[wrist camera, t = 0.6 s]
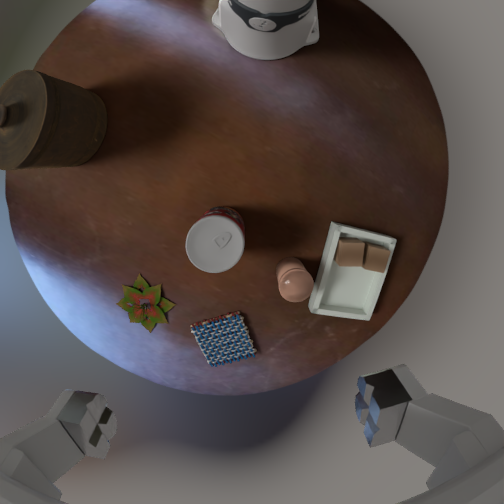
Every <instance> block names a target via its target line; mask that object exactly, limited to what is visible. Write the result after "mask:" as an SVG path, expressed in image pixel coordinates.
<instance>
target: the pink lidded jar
mask: <svg viewBox="0 0 504 504" xmlns="http://www.w3.org/2000/svg"><path fill="white" fill-rule="evenodd" d="M276 275H277V279H278V282H279V291H280V294H281V295H282V296H283V298H285V299H286V300H288V301H291V302H299V301H302V300H304V299H306V298H307V297H309V295H310V294H311V293H312V291H313V287H314V282H313V278H312V277H311V275H310V274H309V273H308V272H307V271H306V269H305V267H304V265H303V264H302V262H301V261H300V260H299V259H297V258H294V257H287V258H284V259H282V260H281V261H280V262H279V263H278V265H277V267H276Z"/></svg>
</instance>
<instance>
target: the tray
mask: <svg viewBox="0 0 504 504" xmlns="http://www.w3.org/2000/svg"><path fill="white" fill-rule="evenodd" d="M339 237H355V238H358V239H359V240H361V241H365V242H370V243H374V244H378V245H382V246H383V247H385V248H386V249H388V250H390V251H391V253H390V256H389V259H388V262H387V266H386V269H385V272H384V273H380V272H375V271H370V270H365V269H364V268H362V267H342V266H339V265H338V264H337V263H336V262H335V261H334V260H333V258H334V254H335V251H336V247H337V243H338V239H339ZM395 244H396V239H395V238H393V237H391V236H388V235H384V234H381V233H377V232H373V231H369V230H365V229H361V228H357V227H353V226H349V225H345V224H340V223H336V222H332V221H331V224H330V228H329V232H328V236H327V240H326V244H325V248H324V251H323V255H322V259H321V262H320V266H319V269H318V273H317V277H316V280H315V283H314V287H313V291H312V294H311V297H310V300H309V304H308V307H309V309H310V311H311V313H315V314H322V315H330V316H337V317H345V318H353V319H361V320H370V318H371V315H372V312H373V310H374V307H375V304H376V302H377V299H378V296H379V293H380V291H381V288H382V285H383V282H384V279H385V276H386V273H387V270H388V267H389V264H390V261H391V257H392V254H393V251H394V247H395Z"/></svg>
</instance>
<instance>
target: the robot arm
mask: <svg viewBox="0 0 504 504" xmlns="http://www.w3.org/2000/svg"><path fill="white" fill-rule="evenodd" d="M212 23H213V25H214V26H216V27H217V28H218V29H220V30H221V31H222V32H223V33H224V35H225V37H226V39H227V41H228V42H229V44H230V45H231V46H232V47H233V48H234V49H235V50H237V51H238V52H240V53H242V54H244V55H246V56H248V57H251V58H255V59H261V60H274V59H280V58H284V57H286V56H289V55H291V54H293V53H294V52H296V51H297V50H298V49H300V48H301V47H303V46H306V45H311V44H314V43H316V42H318V40H319V26H318V15H317V4H316V0H220V1H219V7H218V9H217V10H216V12H215V13H214V15H213V17H212ZM312 31H313V32H314V33H311V32H312ZM357 386H358V388H359V393H358V394H357V395H356V399H355V408H356V414H357V417H358V420H359V422H360V423H362V424H363V425H365V429H364V434H365V437H366V439H367V442H368V444H369V446H370V447H374V446H377V445H381V444H384V443H388V442H391V441H394V440H396V441H395V442H397V443H398V444H400V445H401V446H403V447H405V448H406V449H407V450H409V451H411V452H412V453H414V454H415V455H417V456H418V457H420V458H422V459H423V460H425V461H426V462H428V463H430V464H431V465H433V466H435V467H436V468H435V470H434V471H433V473H432V474H431V475H430V477H429V479H428V480H427V482H426V484H427V486H428V488H429V490H428V491H426V492H424V493H422V494H419V495H417V496H415V497H412V498H410V499H407V500H405V501H402V502H400V503H397V504H504V430H503V429H502V427H501V426H500V425H499V424H498V422H497V421H496V420H495V419H494V417H493V416H492V415H491V414H487V413H485V412H482V411H479V410H476V409H473V408H470V407H467V406H465V405H462V404H459V403H456V402H454V401H451V400H449V399H446V398H443V397H440V396H438V395H435V394H433V393H431V394H428V393H427V392H426V391H425V389H424V388H423V387H422V385H421V384H420V383H419V381H418V380H417V379H416V378H415V376H414V375H413V373H412V372H411V371H410V369H409V368H408V367H407V366H406V365H405V364H401V365H398V366H395V367H391V368H389V369H385V370H381V371H377V372H373V373H370V374H366V375H361V376H359V378H358V383H357ZM106 405H107V401H106V399H105V397H104V395H101V394H98V393H91V392H83V391H75V390H70V389H67V390H64V391H63V392H62V394H61V395H60V396H59V398H58V399H57V401H56V402H55V404H54V405H53V406H52V408H51V409H50V411H49V412H48V414H47V415H46V416H45V417H43V416H42V417H40V418H38V419H36V420H35V421H33V422H31V423H29V424H27V425H25V426H23V427H21V428H20V429H18V430H16V431H14V432H12V433H10V434H8V435H6V436H4V437H2V438H0V504H67V503H65V502H62V501H60V498H61V495H62V493H61V491H60V490H59V489H58V488H57V487H56V486H55V485H54V484H53V483H54V482H55V481H57V480H58V479H59V478H60V477H61V476H62V475H64V474H65V473H66V472H67V471H69V470H70V469H71V468H72V467H73V466H74V465H76V464H77V463H78V462H79V461H80V460H81V459H83V458H84V457H85V455H86V456H91V457H96V458H101V459H105V457H106V455H107V452H108V450H109V448H110V443H109V439H111V438H112V437H114V435H115V433H116V430H117V421H116V417H115V415H114V413H113V412H112V411H111V410H110V409H109V408H108V407H106Z"/></svg>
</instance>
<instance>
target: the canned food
mask: <svg viewBox="0 0 504 504" xmlns="http://www.w3.org/2000/svg"><path fill="white" fill-rule="evenodd" d="M244 245H245V226H244V222H243V219H242V217H241V216H240V214H239V213H238V212H237V211H235V210H234V209H232V208H229V207H225V206H219V207H214V208H212V209H210V210H208V211H207V212H206V213H204V214H203V215H202V216H201V217H200V218H199V220H198V221H197V222H196V223H195V224H194V225H193V226H192V228H191V229H190V230H189V233H188V235H187V238H186V252H187V255H188V257H189V259H190V261H191V262H192V263H193V264H194V265H195V266H196V267H197V268H199V269H200V270H203V271H205V272H210V273H218V272H223V271H226V270H228V269H230V268H231V267H233V266H234V265H235V264H236V263H237V262H238V261H239V259H240V258H241V256H242V254H243V251H244Z"/></svg>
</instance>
